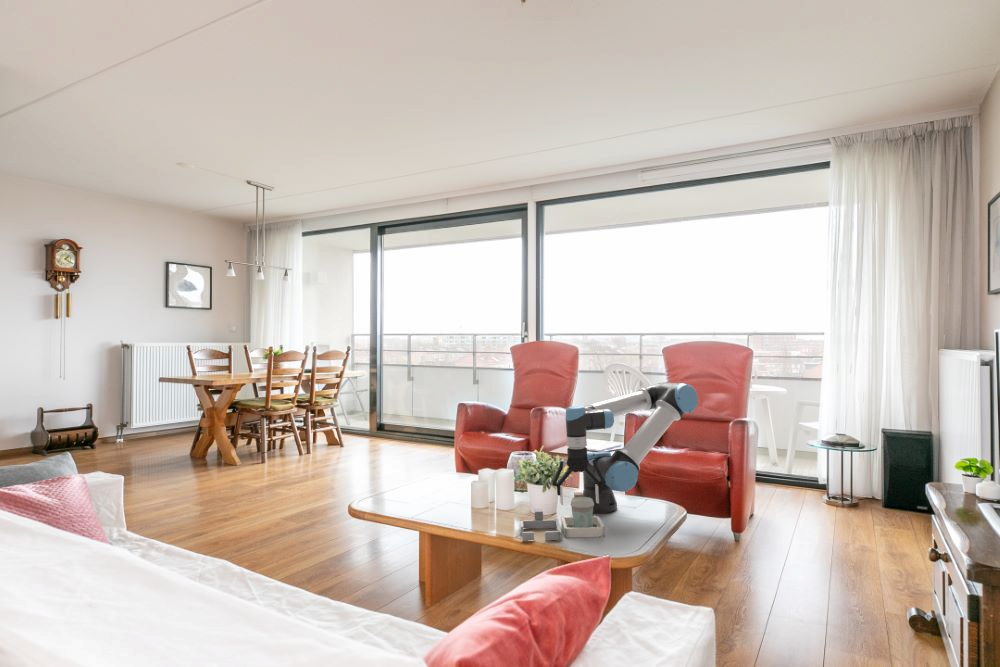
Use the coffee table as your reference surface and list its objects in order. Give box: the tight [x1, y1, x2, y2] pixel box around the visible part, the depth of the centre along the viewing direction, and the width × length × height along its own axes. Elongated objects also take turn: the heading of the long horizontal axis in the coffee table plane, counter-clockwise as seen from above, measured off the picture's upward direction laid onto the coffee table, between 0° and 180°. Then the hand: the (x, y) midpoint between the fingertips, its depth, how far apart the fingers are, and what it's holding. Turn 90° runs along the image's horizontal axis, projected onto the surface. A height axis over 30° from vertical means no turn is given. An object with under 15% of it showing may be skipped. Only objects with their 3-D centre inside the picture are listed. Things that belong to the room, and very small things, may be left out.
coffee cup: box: [569, 497, 594, 528], centre depth 215 cm, size 9×8×12 cm
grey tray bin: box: [560, 491, 606, 538], centre depth 220 cm, size 19×14×11 cm
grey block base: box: [519, 508, 563, 542], centre depth 216 cm, size 19×14×6 cm
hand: (579, 503), depth 227 cm, fingers open, 13 cm apart
